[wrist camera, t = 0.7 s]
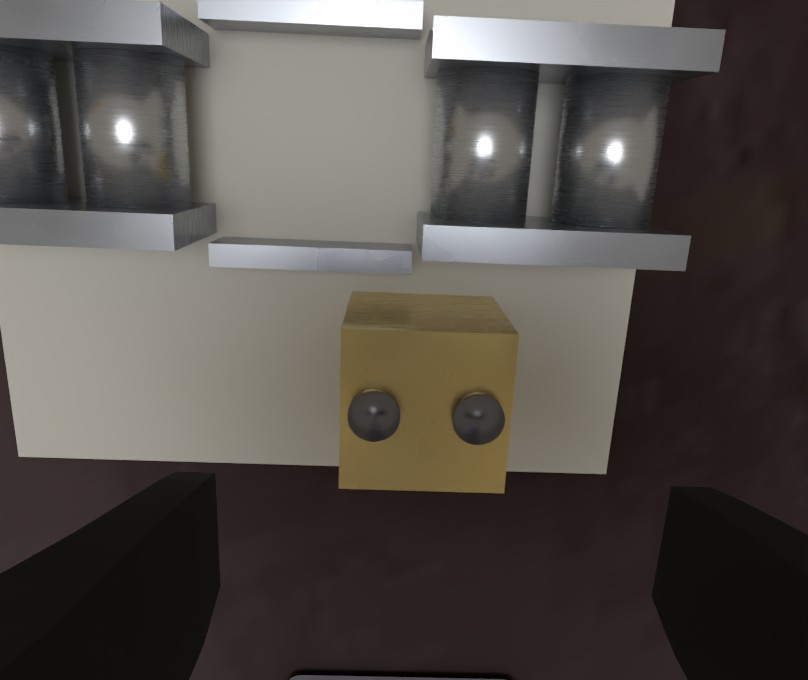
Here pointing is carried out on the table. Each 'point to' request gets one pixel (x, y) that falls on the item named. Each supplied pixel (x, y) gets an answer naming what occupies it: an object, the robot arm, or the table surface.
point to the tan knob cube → (425, 393)
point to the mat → (299, 289)
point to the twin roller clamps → (453, 133)
